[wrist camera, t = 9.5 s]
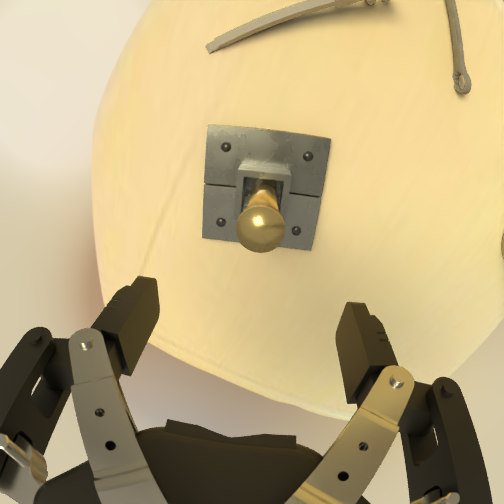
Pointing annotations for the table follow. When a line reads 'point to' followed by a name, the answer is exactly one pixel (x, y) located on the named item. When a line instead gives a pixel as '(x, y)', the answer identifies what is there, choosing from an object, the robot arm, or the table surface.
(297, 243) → the square socket plate
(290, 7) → the caliper
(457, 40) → the combination wrench
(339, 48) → the table surface
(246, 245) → the pin
